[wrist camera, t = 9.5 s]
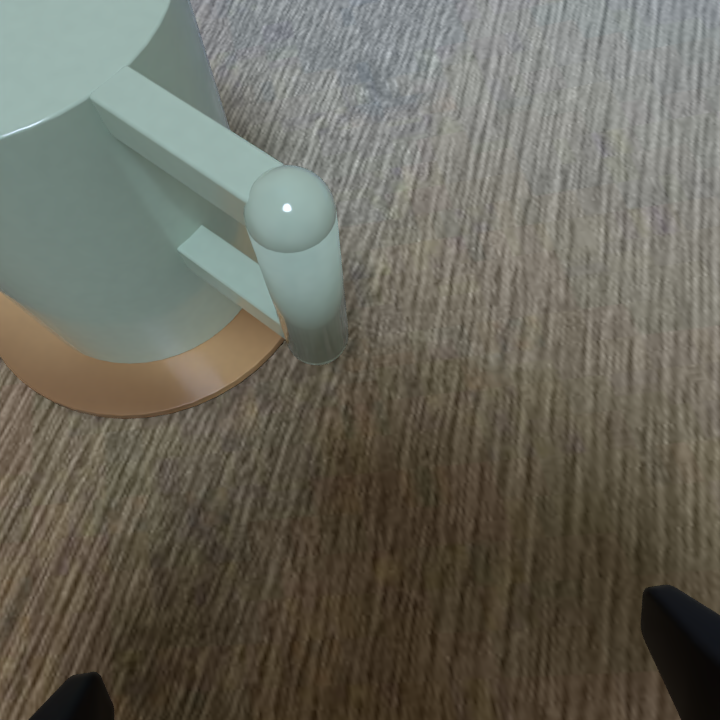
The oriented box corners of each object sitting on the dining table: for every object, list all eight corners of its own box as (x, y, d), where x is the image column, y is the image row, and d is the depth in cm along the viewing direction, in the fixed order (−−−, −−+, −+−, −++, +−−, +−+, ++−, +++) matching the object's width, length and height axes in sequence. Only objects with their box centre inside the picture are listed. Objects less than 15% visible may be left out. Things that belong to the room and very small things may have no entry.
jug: (-40, 256, 21) (-384, -23, 11) (127, 115, 23) (-44, -212, 14) (263, 511, 17) (127, 412, 8) (424, 313, 20) (471, 51, 10)
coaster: (279, 442, 19) (277, 439, 18) (-67, 394, 19) (-75, 390, 19) (338, 152, 23) (337, 144, 23) (54, 123, 24) (49, 116, 23)
